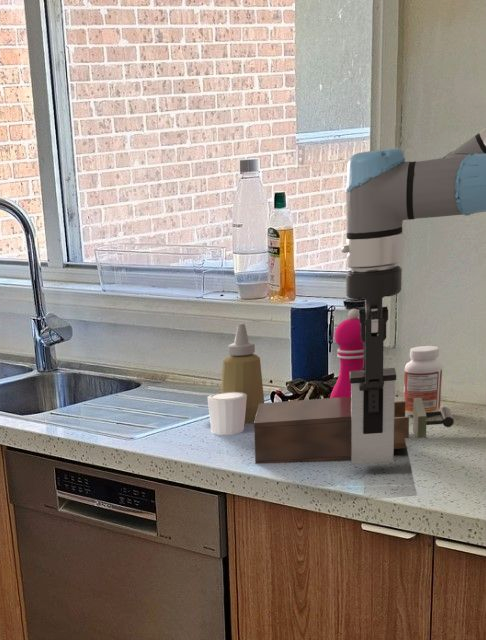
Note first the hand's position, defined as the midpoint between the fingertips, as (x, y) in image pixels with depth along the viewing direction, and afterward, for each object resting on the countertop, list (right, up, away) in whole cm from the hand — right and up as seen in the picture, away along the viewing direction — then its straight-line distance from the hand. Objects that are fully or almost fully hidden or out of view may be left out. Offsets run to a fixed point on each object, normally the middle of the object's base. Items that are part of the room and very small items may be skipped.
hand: (372, 428), depth 183 cm
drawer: (+7, +1, +13) cm, 15 cm away
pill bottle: (+20, +9, +32) cm, 39 cm away
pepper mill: (+6, +6, +29) cm, 30 cm away
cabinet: (-5, 0, +18) cm, 18 cm away
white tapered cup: (-14, +6, +36) cm, 39 cm away
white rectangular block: (+1, -4, +2) cm, 5 cm away
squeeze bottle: (-9, +10, +42) cm, 44 cm away
